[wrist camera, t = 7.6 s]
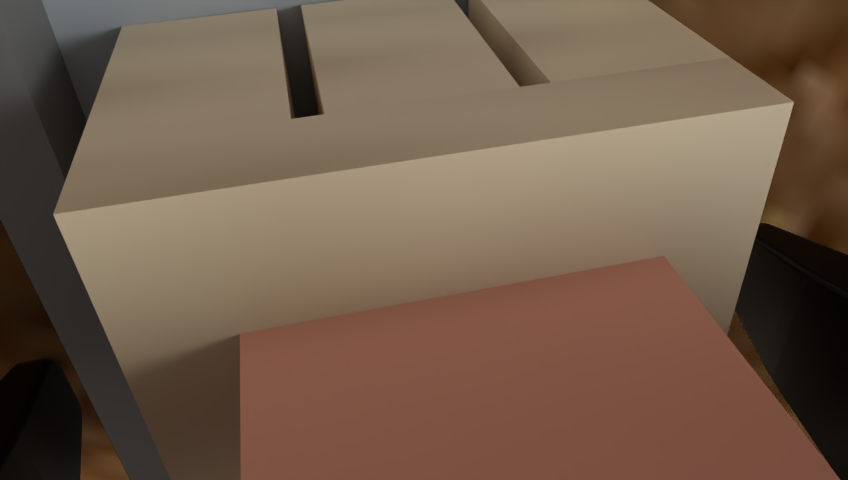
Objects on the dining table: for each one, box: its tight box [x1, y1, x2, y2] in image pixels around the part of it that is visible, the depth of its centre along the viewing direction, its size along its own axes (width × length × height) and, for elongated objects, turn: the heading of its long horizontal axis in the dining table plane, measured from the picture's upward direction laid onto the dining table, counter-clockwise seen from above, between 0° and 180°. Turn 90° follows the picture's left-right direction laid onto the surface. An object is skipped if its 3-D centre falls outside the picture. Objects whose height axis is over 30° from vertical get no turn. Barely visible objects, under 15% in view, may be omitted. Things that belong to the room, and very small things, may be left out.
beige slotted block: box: [53, 0, 794, 480], centre depth 9 cm, size 7×6×4 cm
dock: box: [0, 0, 469, 480], centre depth 11 cm, size 11×8×4 cm
